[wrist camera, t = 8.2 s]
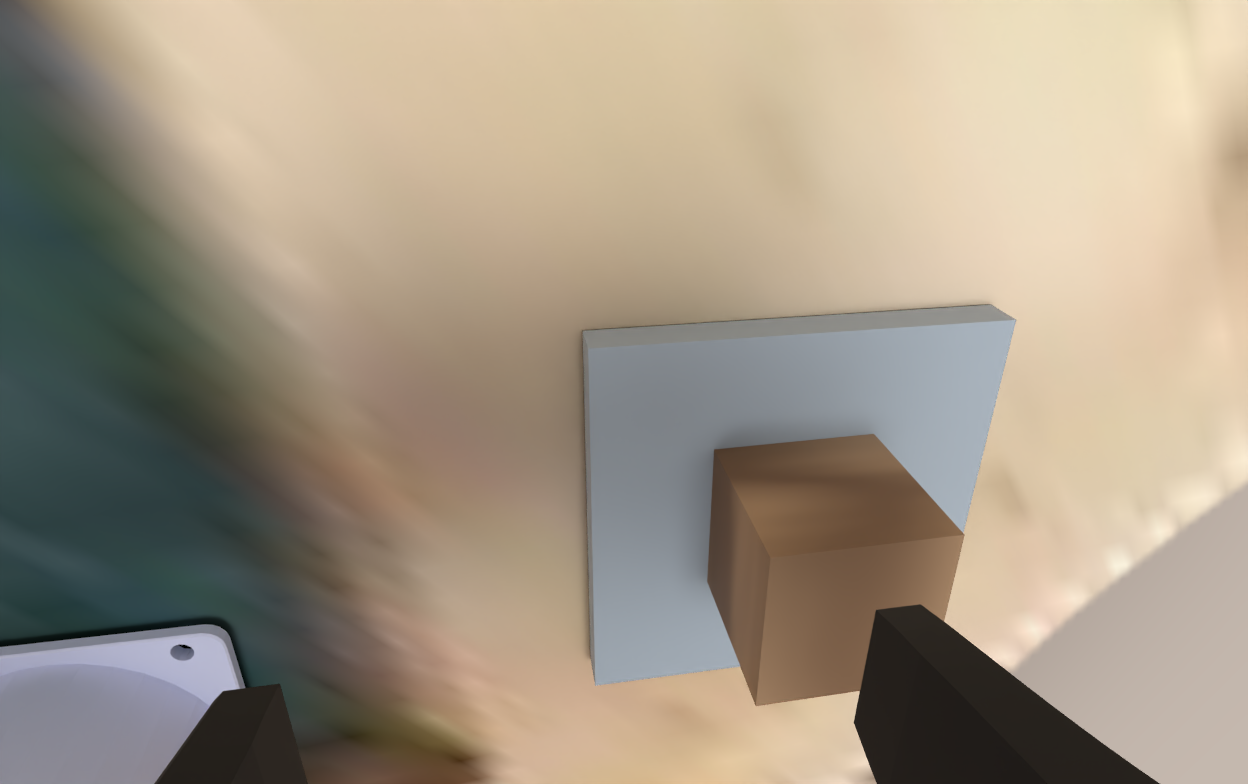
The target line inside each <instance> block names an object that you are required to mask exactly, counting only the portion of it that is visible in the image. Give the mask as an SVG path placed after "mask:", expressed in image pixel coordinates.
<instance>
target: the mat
mask: <svg viewBox="0 0 1248 784" xmlns="http://www.w3.org/2000/svg"><path fill="white" fill-rule="evenodd" d="M1015 322H1016V320H1015V319H1014V318H1012V317H1011V316H1009V315H1007V314H1006V313H1004V312H1002V311H1001V310H999V309H997V308H996V307H994V306H993V305H977V306H962V307H946V308H930V309H915V310H899V311H883V312H868V313H852V314H836V315H820V316H805V317H789V318H773V319H758V320H742V321H726V322H711V323H695V324H679V325H663V326H648V327H632V328H616V329H601V330H585V331H583V368H584V410H585V451H586V492H587V533H588V574H589V615H590V656H591V663H592V669H593V675H594V681H595V686H596V685H603V684H611V683H618V682H626V681H634V680H641V679H649V678H656V677H664V676H671V675H679V674H687V673H694V672H702V671H709V670H717V669H724V668H732V667H739V666H740V664H739V662H738V659H737V657H736V654H735V651H734V649H733V646H732V644H731V641H730V639H729V636H728V634H727V631H726V628H725V626H724V623H723V621H722V618H721V616H720V613H719V611H718V608H717V606H716V603H715V600H714V598H713V595H712V593H711V590H710V588H709V585H708V583H707V576H708V556H709V537H710V518H711V498H712V479H713V460H714V449H724V448H734V447H744V446H754V445H765V444H775V443H785V442H795V441H806V440H816V439H826V438H836V437H846V436H857V435H867V434H875V435H876V437H877V438H878V439H879V440H880V441H881V442H882V443H883V444H884V445H885V447H886V448H887V449H888V450H889V451H890V452H891V453H892V454H893V456H894V457H895V458H896V459H897V460H898V461H899V462H900V463H901V464H902V466H903V467H904V468H905V469H906V470H907V471H908V472H909V473H910V474H911V476H912V477H913V478H914V479H915V480H916V481H917V482H918V483H919V484H920V486H921V487H922V488H923V489H924V490H925V491H926V492H927V493H928V495H929V496H930V497H931V498H932V499H933V500H934V501H935V502H936V503H937V505H938V506H939V507H940V508H941V509H942V510H943V511H944V512H945V513H946V515H947V516H948V517H949V518H950V519H951V520H952V521H953V522H954V523H955V525H956V526H957V527H958V528H959V529H960V530H961V531H962V532H964V528H965V524H966V520H967V516H968V512H969V508H970V504H971V500H972V496H973V492H974V488H975V483H976V479H977V475H978V471H979V467H980V463H981V459H982V455H983V451H984V447H985V443H986V439H987V435H988V431H989V427H990V423H991V419H992V415H993V411H994V407H995V403H996V399H997V395H998V391H999V387H1000V383H1001V379H1002V375H1003V371H1004V366H1005V362H1006V358H1007V354H1008V350H1009V346H1010V342H1011V338H1012V334H1013V330H1014V326H1015Z"/></svg>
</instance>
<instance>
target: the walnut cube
mask: <svg viewBox="0 0 1248 784" xmlns="http://www.w3.org/2000/svg"><path fill="white" fill-rule="evenodd" d="M963 539H964V534H963V532H962V531H961V530H960V529H959V528H958V527H957V526H956V525H955V523H954V522H953V521H952V520H951V519H950V518H949V517H948V516H947V515H946V513H945V512H944V511H943V510H942V509H941V508H940V507H939V506H938V505H937V503H936V502H935V501H934V500H933V499H932V498H931V497H930V496H929V495H928V493H927V492H926V491H925V490H924V489H923V488H922V487H921V486H920V484H919V483H918V482H917V481H916V480H915V479H914V478H913V477H912V476H911V474H910V473H909V472H908V471H907V470H906V469H905V468H904V467H903V466H902V464H901V463H900V462H899V461H898V460H897V459H896V458H895V457H894V456H893V454H892V453H891V452H890V451H889V450H888V449H887V448H886V447H885V445H884V444H883V443H882V442H881V441H880V440H879V439H878V438H877V437H876V435H875V434H867V435H857V436H846V437H836V438H826V439H816V440H806V441H795V442H785V443H775V444H765V445H754V446H744V447H734V448H724V449H714V460H713V479H712V498H711V518H710V537H709V556H708V576H707V583H708V585H709V588H710V590H711V593H712V595H713V598H714V600H715V603H716V606H717V608H718V611H719V613H720V616H721V618H722V621H723V623H724V626H725V628H726V631H727V634H728V636H729V639H730V641H731V644H732V646H733V649H734V651H735V654H736V657H737V659H738V662H739V664H740V667H741V669H742V672H743V674H744V677H745V679H746V682H747V685H748V687H749V690H750V692H751V695H752V697H753V700H754V702H755V705H756V706H760V705H766V704H773V703H780V702H787V701H793V700H800V699H807V698H814V697H820V696H827V695H834V694H841V693H848V692H854V691H860V689H861V684H862V679H863V673H864V668H865V663H866V658H867V653H868V648H869V643H870V638H871V633H872V627H873V622H874V617H875V612H876V610H878V609H886V608H894V607H902V606H911V605H919V604H921V605H922V606H924V607H925V608H926V609H928V610H929V611H930V612H932V613H933V614H934V615H936V616H937V617H938V618H940V619H941V620H942V621H944V619H945V615H946V611H947V606H948V602H949V598H950V594H951V590H952V585H953V581H954V577H955V573H956V569H957V564H958V560H959V556H960V552H961V547H962V543H963Z"/></svg>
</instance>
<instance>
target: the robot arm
mask: <svg viewBox="0 0 1248 784" xmlns="http://www.w3.org/2000/svg"><path fill="white" fill-rule="evenodd" d="M179 644H180V645H187V646H189V647H191V649H187V648H182V647H180V646H179ZM854 724H855V727H856V730H857V732H858V735H859V738H860V740H861V743H862V746H863V748H864V751H865V754H866V757H867V759H868V762H869V765H870V767H871V770H872V772H873V775H874V777H875V780H876V782H877V784H1159V783H1158V782H1156V781H1155V780H1154V779H1152V778H1150V777H1149V776H1148V775H1146V774H1145V773H1143V772H1142V771H1140V770H1139V769H1138V768H1136V767H1135V766H1133V765H1132V764H1131V763H1129V762H1128V761H1126V760H1125V759H1123V758H1122V757H1121V756H1119V755H1118V754H1116V753H1115V752H1114V751H1112V750H1111V749H1109V748H1108V747H1107V746H1105V745H1104V744H1103V743H1101V742H1100V741H1099V740H1097V739H1096V738H1095V737H1093V736H1092V735H1091V734H1089V733H1088V732H1086V731H1085V730H1084V729H1082V728H1081V727H1079V726H1078V725H1077V724H1075V723H1074V722H1073V721H1072V720H1070V719H1069V718H1068V717H1066V716H1065V715H1064V714H1062V713H1061V712H1060V711H1058V710H1057V709H1055V708H1054V707H1053V706H1052V705H1050V704H1049V703H1048V702H1046V701H1045V700H1044V699H1043V698H1041V697H1040V696H1039V695H1037V694H1036V693H1035V692H1033V691H1032V690H1031V689H1030V688H1028V687H1027V686H1026V685H1024V684H1023V683H1022V682H1021V681H1019V680H1018V679H1017V678H1015V677H1014V676H1013V675H1012V674H1010V673H1009V672H1008V671H1006V670H1005V669H1004V668H1003V667H1001V666H1000V665H999V664H997V663H996V662H995V661H994V660H992V659H991V658H990V657H989V656H987V655H986V654H985V653H983V652H982V651H981V650H980V649H978V648H977V647H976V646H974V645H973V644H972V643H971V642H969V641H968V640H967V639H966V638H964V637H963V636H962V635H960V634H959V633H958V632H957V631H955V630H954V629H953V628H951V627H950V626H949V625H948V624H946V623H945V622H944V621H942V620H941V619H940V618H938V617H937V616H936V615H934V614H933V613H932V612H930V611H929V610H928V609H926V608H925V607H924V606H922V605H921V604H919V605H911V606H902V607H894V608H886V609H878V610H876V612H875V617H874V622H873V627H872V633H871V638H870V643H869V648H868V653H867V658H866V663H865V668H864V673H863V679H862V684H861V689H860V694H859V699H858V704H857V709H856V714H855V719H854ZM0 784H307V780H306V776H305V773H304V769H303V766H302V762H301V758H300V755H299V751H298V748H297V744H296V740H295V737H294V733H293V730H292V726H291V722H290V719H289V715H288V712H287V708H286V704H285V701H284V697H283V694H282V690H281V686H280V684H275V685H267V686H259V687H251V688H245V685H244V681H243V678H242V675H241V671H240V668H239V665H238V662H237V658H236V655H235V652H234V649H233V645H232V642H231V639H230V636H229V635H228V633H227V632H226V631H225V630H224V629H222V628H221V627H218V626H215V625H207V624H203V625H194V626H185V627H176V628H167V629H158V630H149V631H140V632H131V633H122V634H113V635H104V636H95V637H87V638H78V639H69V640H60V641H51V642H42V643H33V644H24V645H15V646H6V647H0Z"/></svg>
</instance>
